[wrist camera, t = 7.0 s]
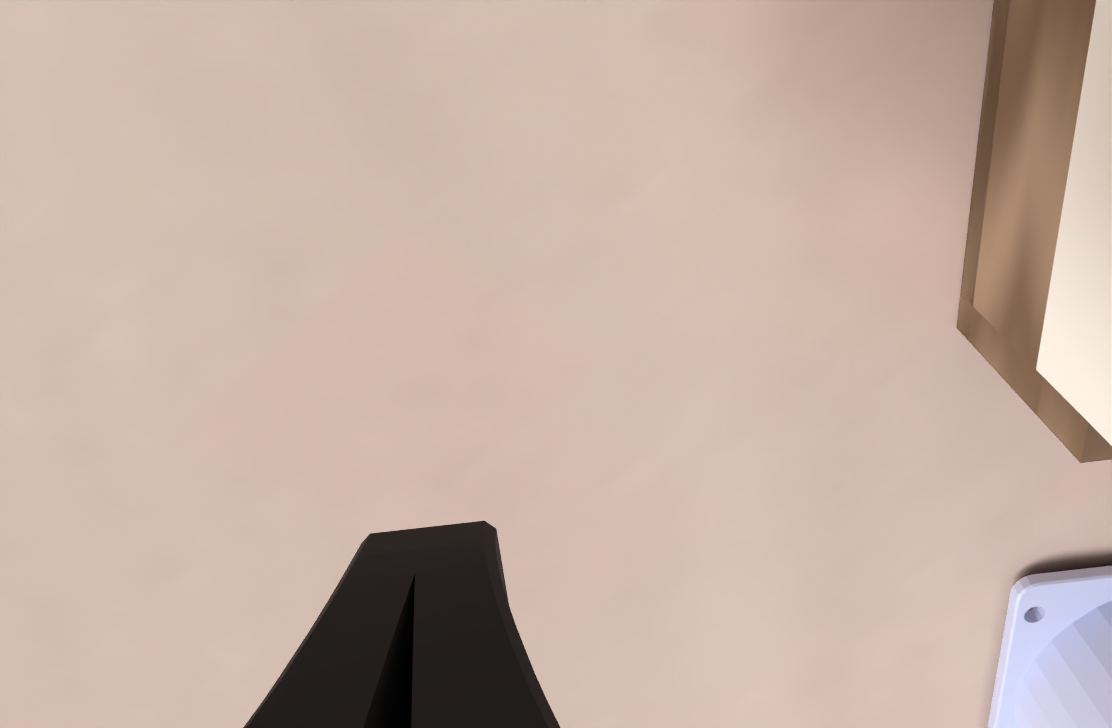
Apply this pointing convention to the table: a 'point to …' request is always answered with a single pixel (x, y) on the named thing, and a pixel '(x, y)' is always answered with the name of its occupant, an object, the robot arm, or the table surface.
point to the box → (1025, 199)
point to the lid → (1085, 250)
